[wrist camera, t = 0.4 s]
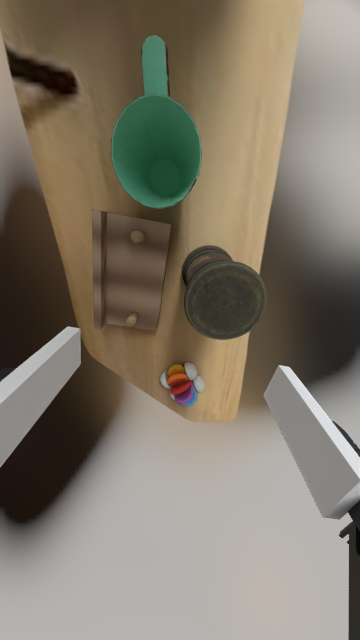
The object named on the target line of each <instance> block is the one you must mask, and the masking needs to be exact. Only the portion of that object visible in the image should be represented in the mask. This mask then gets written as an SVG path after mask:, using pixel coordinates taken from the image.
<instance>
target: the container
mask: <svg viewBox="0 0 360 640" xmlns="http://www.w3.org/2000/svg"><path fill="white" fill-rule="evenodd" d="M182 275H183V280H184V283H185V285H186V292H185V297H184V308H185V313H186V316H187V318H188V320H189V322H190V323H191V325H192V326H193V327H194V328H195V329H196V330H197V331H198V332H200V333H201V334H203V335H205V336H207V337H209V338H213V339H219V340H227V339H233V338H236V337H239V336H242V335H244V334H246V333H247V332H249V331H250V330H251V329H253V327H255V326H256V325H257V323H258V322H259V321H260V319H261V318H262V315H263V313H264V311H265V307H266V301H267V296H266V289H265V285H264V283H263V281H262V280H261V278H260V276H259V275H258V273H257V272H256V271H254V270H253V269H252V268H250V267H249V266H247V265H245V264H243V263H239V262H234V261H233V260H232V258H231V257H230V256H229V254H228V253H227V252H226V251H224V250H223V249H221V248H219V247H217V246H202V247H199V248H197V249H195V250H194V251H192V252H191V253H190V254H189V255H188V257H187V258H186V260H185V262H184V264H183V269H182Z"/></svg>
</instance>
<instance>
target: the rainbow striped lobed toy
mask: <svg viewBox="0 0 360 640" xmlns="http://www.w3.org/2000/svg"><path fill="white" fill-rule="evenodd" d="M160 381H161V384H162V385H163V386H164V387H165V388H170V391H169V392H170V396H171V398H172V399H174V400H176V402H178V403H179V404H183V405H185V406H191V405H193V404H194V403H195V401H196V399H197V392H199V393H200V392H202V391H203V390H204V388H205V382H204V380H203V378H202V377H201V376H199V375H197V369H196V367H195V365H194V364H192V363H189V362H187V363H185V367H184V366H182V365H180V364H174V365H172V366H171V367H170V368H169V370H168V371H164V372H163V373H162V374H161V377H160Z"/></svg>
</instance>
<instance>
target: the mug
mask: <svg viewBox="0 0 360 640" xmlns="http://www.w3.org/2000/svg"><path fill="white" fill-rule="evenodd" d="M141 55H142V71H143V84H144V96H141V97H138V98H137V99H135V100H134V101H133V102H131V103H130V104H129V105H128V106H126V107H125V108H124V110H123V112H122V113H121V115H120V117H119V118H118V120H117V121H116V124H115V128H114V132H113V136H112V139H111V151H112V162H113V166H114V169H115V173H116V176H117V178H118V180H119V181H120V183H121V185H122V187H123V189H124V190H125V191H126V192H127V193H128V194H129V195H130V196H131V197H132V198H133V199H134V200H135V201H137V202H139V203H140V204H142V205H144V206H146V207H149V208H155V209H163V208H168V207H173V206H174V205H176V204H177V203H179V202H181V201H182V200H184V198H185V197H186V196H187V195H188V193H189V192H190V191H191V189H192V187H193V186H194V184H195V182H196V180H197V178H198V175H199V171H200V165H201V158H202V152H201V141H200V136H199V133H198V130H197V128H196V125H195V122H194V120H193V119H192V117H191V116H190V115H189V113H188V112H187V111H186V109H185V108H184V107H183V105H181V104H180V103H178V102H177V101H175V100H174V99H172V98H171V97H170V90H169V71H168V53H167V45H166V43H165V42H164V41H163V40H162V39H161V38H160V37H159V36H157V35H152V36H150V37H148V38H146V40H145V42H144V43H143V45H142V49H141Z"/></svg>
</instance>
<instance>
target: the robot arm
mask: <svg viewBox="0 0 360 640" xmlns="http://www.w3.org/2000/svg"><path fill="white" fill-rule="evenodd" d="M80 350H81V346H80V329H79V328H73V327H67V328H65V329H64V330H63V331H62V332H60V333H59V334H58V335H57V336H56V337H54V338H53V339H52V340H51V341H50V342H49V343H47V344H46V345H45V346H44V347H42V348H41V349H40V350H39V351H37V352H36V353H35V354H34V355H33V356H31V357H30V358H29V359H28V360H26V361H25V362H24V363H23V364H21V365H20V366H19V367H18V368H17V369H12V368H6V369H4V370H2V371H0V467H1V466H2V464H3V463H4V462H5V461H6V459H7V458H8V457H9V455H10V454H11V453H12V451H13V450H14V449H15V448H16V446H17V445H18V444H19V443H20V441H21V440H22V439H23V437H24V436H25V435H26V434H27V432H28V431H29V430H30V428H31V427H32V426H33V425H34V423H35V422H36V421H37V419H38V418H39V417H40V416H41V414H42V413H43V411H44V410H45V409H46V408H47V406H48V405H49V404H50V403H51V401H52V400H53V399H54V398H55V396H56V395H57V393H58V392H59V391H60V390H61V389H62V387H63V386H64V385H65V383H66V382H67V381H68V380H69V378H70V377H71V376H72V374H73V373H74V372H75V371H76V369H77V368H78V367H79V365H80V364H81V353H80V352H81V351H80ZM264 398H265V400H266V402H267V404H268V406H269V408H270V410H271V412H272V414H273V416H274V418H275V420H276V422H277V424H278V426H279V428H280V430H281V433H282V435H283V436H284V439H285V441H286V443H287V445H288V447H289V449H290V451H291V453H292V455H293V457H294V459H295V461H296V463H297V466H298V467H299V470H300V472H301V474H302V476H303V478H304V480H305V482H306V484H307V486H308V488H309V490H310V492H311V494H312V496H313V498H314V501H315V503H316V505H317V507H318V509H319V511H320V513H321V515H322V517H326V518H333V519H340V518H342V517H343V516H344V515H345V514H346V513H347V512H348V513H349V515H350V516H351V518H352V520H353V522H351V523H350V524H349V525H348V526H347V527H345V528H344V529H343V530H342V531H341V532H340V535H339V536H340V537H341V538H343V537H345V536H346V535H347V534H349V540H348V541H347V543H348V544H349V640H360V449H359V448H358V447H357V445H356V444H354V443H353V441H352V439H351V438H350V437H349V436H348V434H347V433H346V432H345V431H344V430H343V429H342V428H341V427H340V426H339V425H337V424H336V423H335V422H334V421H331V420H330V418H329V417H328V416H327V415H326V413H325V412H324V411H323V409H322V408H321V407H320V406H319V404H318V403H317V402H316V400H315V399H314V398H313V397H312V396H311V394H310V393H309V391H308V390H307V389H306V388H305V386H304V385H303V384H302V383H301V381H300V380H299V379H298V377H297V376H296V375H295V374H294V372H293V371H292V370H291V368H290V367H286V366H280V365H279V366H278V368H277V370H276V372H275V374H274V376H273V378H272V379H271V381H270V384H269V385H268V387H267V389H266V391H265V393H264Z"/></svg>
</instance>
